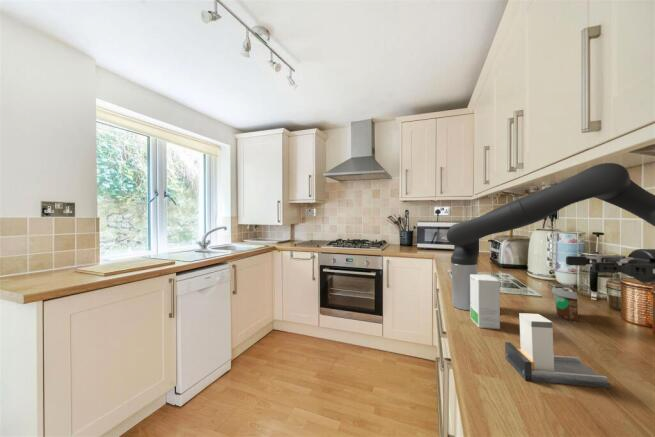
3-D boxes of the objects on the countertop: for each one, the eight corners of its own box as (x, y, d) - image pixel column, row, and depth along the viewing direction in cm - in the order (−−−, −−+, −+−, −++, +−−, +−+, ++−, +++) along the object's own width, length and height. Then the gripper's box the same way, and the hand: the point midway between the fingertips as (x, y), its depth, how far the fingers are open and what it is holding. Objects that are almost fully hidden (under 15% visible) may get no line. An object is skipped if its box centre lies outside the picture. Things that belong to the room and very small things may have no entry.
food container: (551, 309, 96) (550, 282, 96) (574, 312, 92) (573, 285, 93) (553, 319, 87) (552, 290, 87) (578, 323, 83) (577, 292, 83)
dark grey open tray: (505, 358, 64) (505, 342, 64) (576, 363, 60) (576, 346, 60) (525, 380, 55) (524, 361, 55) (610, 388, 52) (609, 368, 52)
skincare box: (470, 318, 90) (468, 274, 90) (490, 319, 88) (489, 274, 88) (479, 328, 81) (477, 279, 82) (502, 329, 80) (500, 279, 80)
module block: (521, 359, 61) (519, 313, 61) (540, 360, 60) (538, 313, 60) (533, 371, 56) (531, 321, 56) (554, 373, 55) (552, 322, 56)
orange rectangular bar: (515, 356, 62) (514, 348, 62) (519, 357, 62) (519, 348, 62) (529, 371, 56) (528, 361, 56) (534, 371, 56) (534, 362, 56)
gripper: (636, 245, 64) (559, 244, 67) (705, 254, 50) (604, 251, 53) (635, 276, 64) (559, 273, 67) (705, 292, 50) (604, 287, 53)
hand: (579, 263), depth 60 cm, fingers open, 8 cm apart
